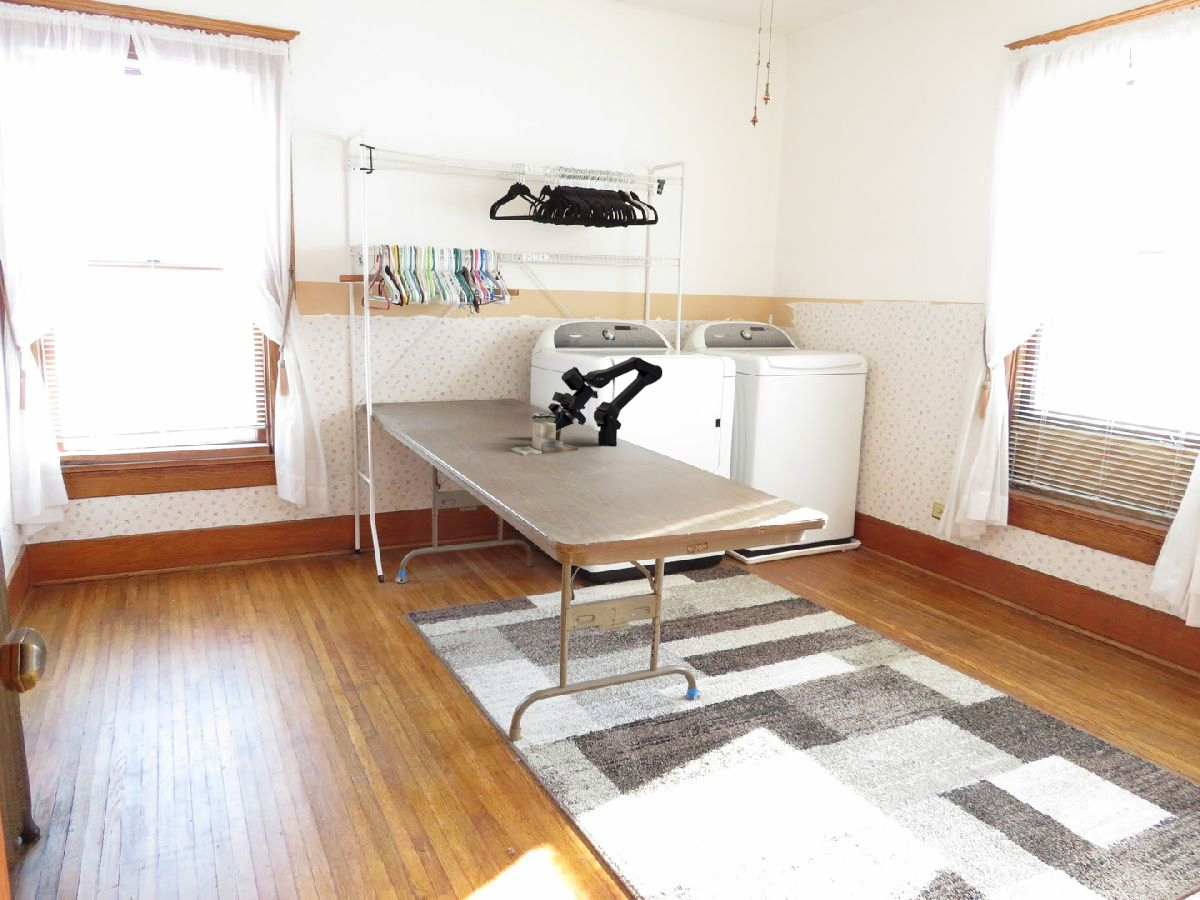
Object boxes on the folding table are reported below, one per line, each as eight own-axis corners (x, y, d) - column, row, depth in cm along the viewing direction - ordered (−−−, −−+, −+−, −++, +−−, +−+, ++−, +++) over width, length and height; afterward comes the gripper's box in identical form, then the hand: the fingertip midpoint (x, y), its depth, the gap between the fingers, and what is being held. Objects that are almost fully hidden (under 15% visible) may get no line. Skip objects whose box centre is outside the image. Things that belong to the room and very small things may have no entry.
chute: (564, 445, 320) (564, 436, 320) (578, 450, 312) (578, 441, 311) (511, 450, 309) (511, 441, 308) (524, 455, 300) (524, 445, 300)
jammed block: (547, 445, 314) (547, 421, 312) (555, 448, 309) (555, 423, 307) (532, 447, 311) (532, 422, 309) (540, 450, 306) (540, 424, 304)
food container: (565, 438, 335) (566, 412, 333) (563, 441, 329) (564, 415, 327) (534, 436, 336) (534, 411, 334) (531, 439, 330) (531, 413, 328)
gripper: (553, 381, 318) (526, 412, 314) (579, 387, 303) (551, 420, 299) (571, 401, 324) (544, 432, 320) (598, 408, 308) (570, 441, 304)
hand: (552, 431), depth 311 cm, fingers closed, pressing on jammed block
